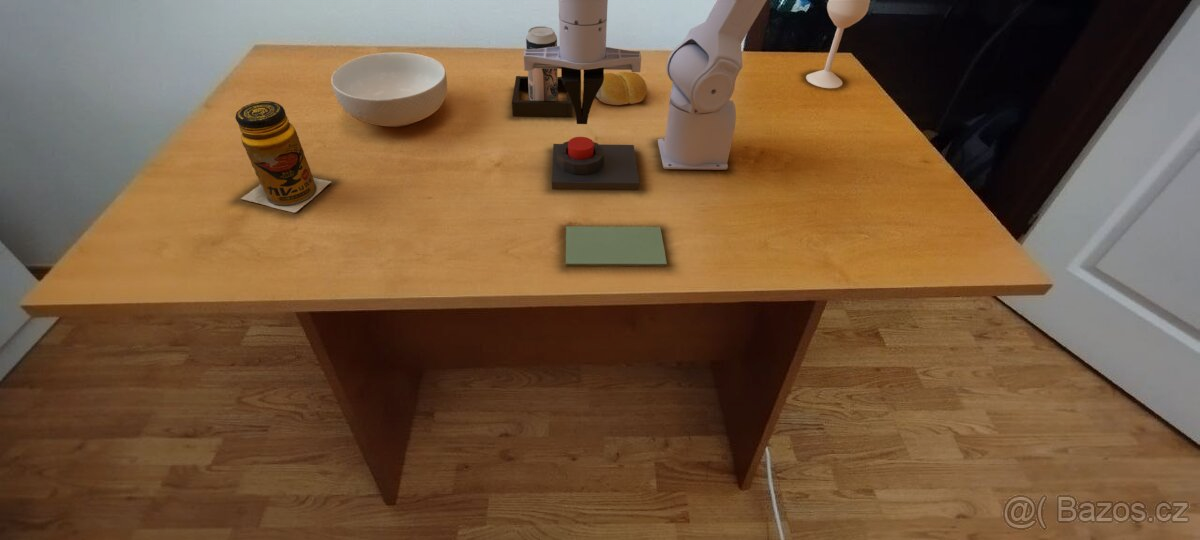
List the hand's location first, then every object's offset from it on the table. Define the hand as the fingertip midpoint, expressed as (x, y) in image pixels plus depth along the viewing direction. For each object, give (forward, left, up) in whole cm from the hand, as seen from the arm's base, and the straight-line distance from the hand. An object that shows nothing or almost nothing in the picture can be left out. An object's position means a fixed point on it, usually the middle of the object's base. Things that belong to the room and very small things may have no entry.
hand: (581, 120), depth 78 cm
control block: (-2, 0, -8) cm, 8 cm away
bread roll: (-7, -23, -8) cm, 25 cm away
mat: (-4, +17, -8) cm, 19 cm away
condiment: (+39, +6, -8) cm, 40 cm away
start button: (0, 0, -5) cm, 5 cm away
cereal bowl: (+29, -15, -8) cm, 34 cm away
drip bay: (+6, -20, -8) cm, 22 cm away
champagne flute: (-46, -31, -8) cm, 56 cm away
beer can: (+6, -20, -8) cm, 22 cm away
